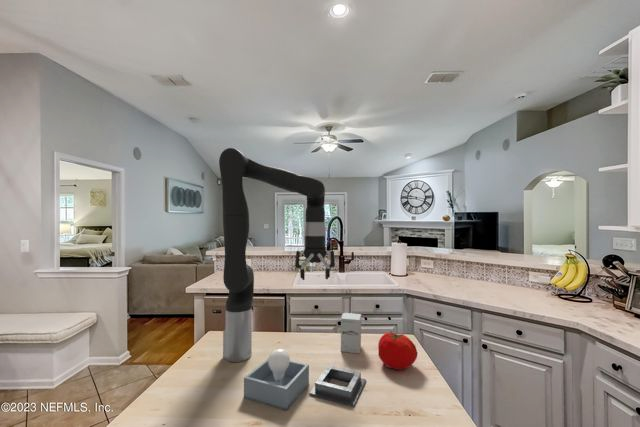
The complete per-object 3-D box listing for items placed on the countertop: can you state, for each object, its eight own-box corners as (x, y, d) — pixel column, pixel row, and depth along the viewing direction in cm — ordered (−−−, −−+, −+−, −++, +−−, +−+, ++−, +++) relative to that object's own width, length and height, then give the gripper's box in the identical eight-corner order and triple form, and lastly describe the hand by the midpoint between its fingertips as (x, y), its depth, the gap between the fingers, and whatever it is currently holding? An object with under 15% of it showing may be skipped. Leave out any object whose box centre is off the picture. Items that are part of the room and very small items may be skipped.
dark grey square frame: (309, 395, 79) (309, 384, 79) (326, 372, 91) (326, 362, 91) (353, 407, 74) (353, 395, 74) (365, 381, 86) (365, 371, 86)
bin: (243, 397, 78) (243, 377, 78) (270, 373, 90) (270, 356, 91) (286, 410, 73) (286, 389, 73) (308, 382, 85) (308, 364, 85)
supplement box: (340, 352, 105) (340, 318, 106) (342, 343, 112) (342, 312, 113) (360, 354, 104) (359, 319, 104) (361, 345, 111) (361, 313, 111)
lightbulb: (269, 396, 77) (269, 356, 78) (266, 383, 84) (266, 346, 84) (291, 392, 79) (292, 352, 80) (287, 380, 86) (287, 343, 86)
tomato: (370, 360, 99) (370, 330, 99) (398, 353, 104) (398, 325, 104) (394, 379, 87) (394, 345, 87) (425, 371, 92) (424, 338, 92)
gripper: (332, 234, 107) (332, 276, 106) (295, 234, 105) (295, 277, 105) (336, 235, 99) (336, 281, 99) (295, 235, 98) (295, 282, 97)
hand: (315, 279), depth 102 cm, fingers open, 8 cm apart
